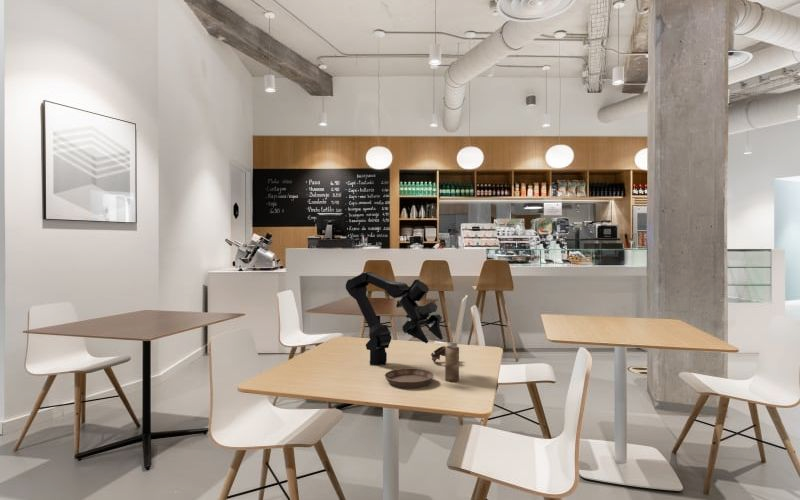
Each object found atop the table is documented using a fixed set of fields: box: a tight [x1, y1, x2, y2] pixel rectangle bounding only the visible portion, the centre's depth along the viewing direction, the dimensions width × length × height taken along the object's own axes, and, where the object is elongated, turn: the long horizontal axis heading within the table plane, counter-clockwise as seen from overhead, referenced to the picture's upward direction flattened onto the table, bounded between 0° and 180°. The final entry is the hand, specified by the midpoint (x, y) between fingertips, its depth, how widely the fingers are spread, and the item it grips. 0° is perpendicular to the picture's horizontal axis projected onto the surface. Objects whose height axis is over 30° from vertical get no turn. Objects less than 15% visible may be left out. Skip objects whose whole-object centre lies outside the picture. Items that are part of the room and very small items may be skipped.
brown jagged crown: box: [430, 345, 447, 363], centre depth 202 cm, size 12×10×8 cm
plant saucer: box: [384, 367, 434, 389], centre depth 173 cm, size 18×18×3 cm
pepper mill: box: [444, 342, 460, 383], centre depth 175 cm, size 5×5×14 cm
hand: (434, 340), depth 180 cm, fingers open, 9 cm apart
